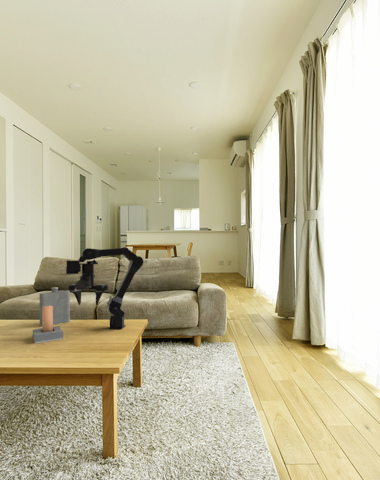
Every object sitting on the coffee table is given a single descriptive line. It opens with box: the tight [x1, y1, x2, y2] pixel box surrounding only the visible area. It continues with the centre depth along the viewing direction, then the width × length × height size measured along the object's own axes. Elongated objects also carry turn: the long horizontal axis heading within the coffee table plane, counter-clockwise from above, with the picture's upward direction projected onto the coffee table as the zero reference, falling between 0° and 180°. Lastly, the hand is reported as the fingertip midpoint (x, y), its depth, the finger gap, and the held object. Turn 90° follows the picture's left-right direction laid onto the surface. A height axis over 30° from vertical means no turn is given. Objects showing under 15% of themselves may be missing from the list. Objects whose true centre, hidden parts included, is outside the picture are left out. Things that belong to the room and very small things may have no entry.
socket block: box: [32, 325, 64, 344], centre depth 143 cm, size 12×12×4 cm
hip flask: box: [39, 286, 71, 328], centre depth 171 cm, size 16×4×20 cm, turn 132°
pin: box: [41, 306, 54, 333], centre depth 144 cm, size 4×4×14 cm
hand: (88, 304), depth 155 cm, fingers open, 9 cm apart
